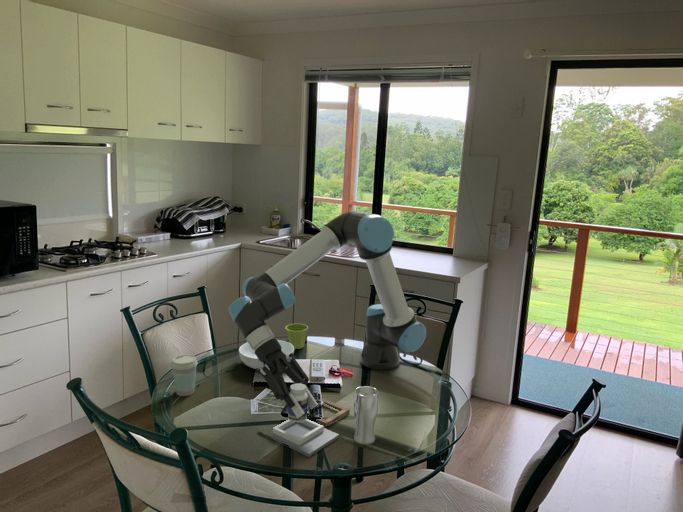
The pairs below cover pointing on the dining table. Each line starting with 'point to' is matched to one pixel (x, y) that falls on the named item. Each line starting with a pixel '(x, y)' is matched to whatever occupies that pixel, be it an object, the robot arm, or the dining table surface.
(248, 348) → the serving bowl
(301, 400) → the pill bottle
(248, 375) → the dining table surface
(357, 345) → the dining table surface
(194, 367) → the coffee cup
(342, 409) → the wooden picture frame
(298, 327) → the plant pot
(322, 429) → the dock
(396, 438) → the dining table surface
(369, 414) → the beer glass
